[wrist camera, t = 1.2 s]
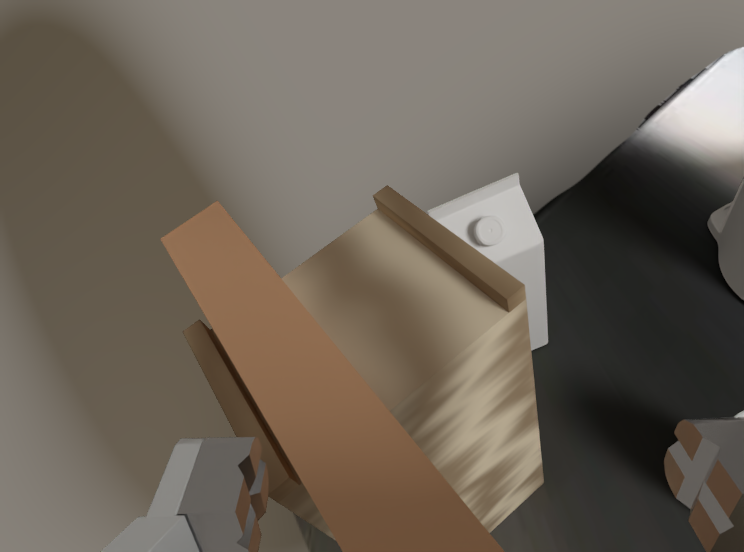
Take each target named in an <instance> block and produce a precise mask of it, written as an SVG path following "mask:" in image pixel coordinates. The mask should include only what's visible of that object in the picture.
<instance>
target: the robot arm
mask: <svg viewBox="0 0 744 552" xmlns="http://www.w3.org/2000/svg"><path fill="white" fill-rule="evenodd" d="M707 224H708V228H709V230H710V232H711V233H712V235H713V236H714V238H715V239H716V241H717V243H718V249H719V252H718V259H719V266H720V269H721V272H722V274H723V277H724V278H725V280H726V282H727V283H728V285H729V286H730V287H731V288H732V290H733V291H734V292H735V293H736V294H737V295H738V296H739V297H740V298H741V299H742V300H744V178H743V180H742V182H741V184H740V186H739V189H738V191H737V193H736V195H735V197H734V200H733V201H732V202H730V203H729V204H727V205H725V206H723V207H722V208H720V209H718V210H716V211H715V212H713V213H712V214H711V216H710V218H709V220H708V222H707ZM674 434H675V435H676V437H677V438H678V440H679V441H677V442H676V443H675V444H673V445H672V446H670V447H669V448H668V450H667V453H666V456H665V459H664V466H665V475H666V478H667V481H668V484H669V486H670V488H671V490H672V492H673V494H674V496H675V497H676V499H678V500H679V501H680V502H682V503H683V504H685V505H686V506H687V507H689V508H690V514H689V520H688V521H689V522H690V524H691V526H692V527H693V529H694V531H695V533H696V534H697V536H698V538H699V540H700V541H701V543H702V545H703V547H704V548H705V550H706V552H744V417H737V418H735V417H723V418H704V419H685V420H682V421H681V422H680V423H678V425H677V427H676V429H675V432H674ZM261 451H262V447H261V443H260V440H259V437H221V438H183V439H182V438H181V439H180V440H179V441H178V443H177V444H176V445H175V446H174V448H173V451H172V454H171V456H170V459H169V461H168V463H167V466H166V468H165V471H164V473H163V476H162V478H161V481H160V483H159V486H158V488H157V491H156V493H155V496H154V498H153V501H152V503H151V505H150V508H149V511H148V513H147V515H146V516H144V517H138V518H136V519H135V520H134V521H133V522H132V523H131V524H130V525H129V526H128V527H127V528H126V529H125V530H123V531H122V532H121V533H120V534H119V535H118V536H117V537H116V538H115V539H114V540H113V541H112V542H110V543H109V544H108V545H107V546H106V547H105V548H104V549H103V550H102V551H101V552H258V550H259V544H260V539H261V532H260V528H259V524H258V520H259V519H260V518H261V517H262V516H263V515H264V513H265V512H266V507H267V501H268V489H269V479H268V470H267V466H266V463H265V462H263V461H262V460H261V459H260V456H261Z"/></svg>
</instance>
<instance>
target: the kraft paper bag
mask: <svg viewBox="0 0 744 552" xmlns="http://www.w3.org/2000/svg"><path fill="white" fill-rule="evenodd" d="M373 197H374V200H375V203H376V205H377V208H378V209H377V210H375V211H374V212H373V213H371V214H370V215H368V216H367V217H366V218H364V219H363V220H362V221H360V222H359V223H358V224H356V225H355V226H353V227H352V228H351V229H349V230H348V231H346V232H345V233H344V234H342V235H341V236H340V237H338V238H337V239H335V240H334V241H332V242H331V243H330V244H328V245H327V246H326V247H324V248H323V249H321V250H320V251H319V252H317V253H316V254H315V255H313V256H312V257H310V258H309V259H308V260H306V261H305V262H303V263H302V264H301V265H299V266H298V267H297V268H295V269H294V270H292V271H291V272H290V273H288V274H287V275H285V276H284V277H283V278H281V279H282V280H283V281H284V283H285V284H286V285H287V286H288V287H289V289H290V290H291V291H292V292H293V294H294V295H295V296H296V297H297V298H298V300H299V301H300V302H301V303H302V305H303V306H304V307H305V308H306V310H307V311H308V312H309V313H310V314H311V316H312V317H313V318H314V319H315V321H316V322H317V323H318V324H319V325H320V327H321V328H322V329H323V330H324V332H325V333H326V334H327V335H328V336H329V338H330V339H331V340H332V341H333V343H334V344H335V345H336V346H337V347H338V349H339V350H340V351H341V352H342V354H343V355H344V356H345V357H346V358H347V360H348V361H349V362H350V363H351V365H352V366H353V367H354V368H355V369H356V371H357V372H358V373H359V374H360V376H361V377H362V378H363V379H364V380H365V382H366V383H367V384H368V385H369V387H370V388H371V389H372V390H373V391H374V393H375V394H376V395H377V396H378V398H379V399H380V400H381V401H382V402H383V404H384V405H385V406H386V407H387V409H388V410H389V411H390V412H391V413H392V415H393V416H394V417H395V418H396V420H397V421H398V422H399V423H400V425H401V426H402V427H403V428H404V429H405V431H406V432H407V433H408V434H409V436H410V437H411V438H412V439H413V440H414V442H415V443H416V444H417V445H418V447H419V448H420V449H421V450H422V451H423V453H424V454H425V455H426V456H427V458H428V459H429V460H430V461H431V462H432V464H433V465H434V466H435V467H436V469H437V470H438V471H439V472H440V473H441V475H442V476H443V477H444V478H445V480H446V481H447V482H448V483H449V484H450V486H451V487H452V488H453V489H454V491H455V492H456V493H457V494H458V495H459V497H460V498H461V499H462V500H463V502H464V503H465V504H466V505H467V506H468V508H469V509H470V510H471V511H472V513H473V514H474V515H475V516H476V517H477V519H478V520H479V521H480V522H481V524H482V525H483V526H484V527H485V528H486V530H487V531H488V532H489V533H490V532H491V531H492V530H493V529H494V528H495V527H497V526H498V525H499V524H500V523H501V522H502V521H503V520H504V519H505V518H506V517H507V516H508V515H509V514H511V513H512V512H513V511H514V510H515V509H516V508H517V507H518V506H519V505H520V504H521V503H522V502H524V501H525V500H526V499H527V498H528V497H529V496H530V495H531V494H532V493H533V492H534V491H535V490H537V489H538V488H539V487H540V486H541V485H542V484H543V483H544V479H543V469H542V458H541V448H540V437H539V427H538V417H537V406H536V396H535V385H534V375H533V365H532V354H531V344H530V333H529V323H528V312H527V302H526V292H525V285H524V284H523V283H522V282H520V281H519V280H517V279H516V278H515V277H513V276H512V275H510V274H509V273H508V272H506V271H505V270H504V269H502V268H501V267H499V266H498V265H497V264H495V263H494V262H493V261H491V260H490V259H488V258H487V257H486V256H484V255H483V254H481V253H480V252H479V251H477V250H476V249H475V248H473V247H472V246H470V245H469V244H468V243H466V242H465V241H464V240H462V239H461V238H459V237H458V236H457V235H455V234H454V233H453V232H451V231H450V230H448V229H447V228H446V227H444V226H443V225H441V224H440V223H439V222H437V221H436V220H435V219H433V218H432V217H430V216H429V215H428V214H426V213H425V212H423V211H422V210H421V209H419V208H418V207H417V206H415V205H414V204H412V203H411V202H410V201H408V200H407V199H405V198H404V197H403V196H401V195H400V194H399V193H397V192H396V191H394V190H393V189H392V188H390V187H389V186H385V187H384V188H383V189H381V190H380V191H378V192H377V193H376V194H374V195H373ZM183 334H184V336H185V337H186V339H187V341H188V343H189V345H190V347H191V349H192V351H193V353H194V355H195V357H196V359H197V361H198V363H199V365H200V367H201V368H202V370H203V372H204V374H205V376H206V378H207V380H208V382H209V384H210V386H211V388H212V390H213V392H214V394H215V396H216V398H217V400H218V401H219V403H220V405H221V407H222V409H223V411H224V413H225V415H226V417H227V419H228V421H229V423H230V425H231V427H232V429H233V431H234V433H235V435H236V436H237V437H259V440H260V443H261V447H262V451H261V456H260V459H261V460H262V461H263V462H265V463H266V466H267V470H268V479H269V489H268V496H269V497H270V498H272V499H273V500H275V501H276V502H278V503H279V504H281V505H282V506H284V507H285V508H287V509H288V510H290V511H292V512H293V513H295V514H296V515H298V516H299V517H301V518H302V519H304V520H305V521H307V522H308V523H310V524H311V525H313V526H314V527H316V528H318V529H319V530H321V531H322V532H324V533H325V534H327V535H328V536H330V537H331V538H333V539H334V540H336V539H335V537H334V536H333V534H332V532H331V531H330V529H329V527H328V525H327V524H326V522H325V520H324V519H323V517H322V515H321V513H320V512H319V510H318V508H317V507H316V505H315V503H314V501H313V500H312V498H311V496H310V495H309V493H308V491H307V489H306V488H305V486H304V484H303V483H302V481H301V479H300V477H299V476H298V474H297V472H296V471H295V469H294V467H293V465H292V464H291V462H290V460H289V459H288V457H287V455H286V453H285V452H284V450H283V448H282V447H281V445H280V443H279V441H278V440H277V438H276V436H275V435H274V433H273V431H272V429H271V428H270V426H269V424H268V423H267V421H266V419H265V417H264V416H263V414H262V412H261V411H260V409H259V407H258V405H257V404H256V402H255V400H254V399H253V397H252V395H251V393H250V392H249V390H248V388H247V387H246V385H245V383H244V381H243V380H242V378H241V376H240V375H239V373H238V371H237V369H236V368H235V366H234V364H233V363H232V361H231V359H230V357H229V356H228V354H227V352H226V351H225V349H224V347H223V345H222V344H221V342H220V340H219V339H218V337H217V335H216V333H215V332H214V330H213V328H212V329H211V330H210V329H209V328H208V327H207V326H206V325H205V324H204V323H203V322H202V321H201V320H198V321H197V322H195V323H194V324H193V325H191V326H190V327H189V328H187V329H186V330H185V331H183Z"/></svg>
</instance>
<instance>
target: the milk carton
mask: <svg viewBox="0 0 744 552" xmlns="http://www.w3.org/2000/svg"><path fill="white" fill-rule="evenodd" d="M428 215H429V216H430V217H432V218H433V219H435V220H436V221H437V222H439V223H440V224H441V225H443V226H444V227H446V228H447V229H448V230H450V231H451V232H453V233H454V234H455V235H457V236H458V237H459V238H461V239H462V240H464V241H465V242H466V243H468V244H469V245H470V246H472V247H473V248H475V249H476V250H477V251H479V252H480V253H481V254H483V255H484V256H486V257H487V258H488V259H490V260H491V261H493V262H494V263H495V264H497V265H498V266H499V267H501V268H502V269H504V270H505V271H506V272H508V273H509V274H510V275H512V276H513V277H515V278H516V279H517V280H519V281H520V282H522V283H523V284H524V285H525V292H526V302H527V312H528V323H529V333H530V344H531V351H532V350H534V349H536V348H539V347H541V346H543V345H546V344H547V343H548V329H547V307H546V284H545V261H544V243H543V237H542V235H541V233H540V230H539V228H538V226H537V223H536V221H535V219H534V216H533V214H532V212H531V210H530V207H529V205H528V203H527V201H526V198H525V196H524V194H523V191H522V189H521V187H520V184H519V174H518V173H515V174H512V175H510V176H508V177H506V178H503V179H501V180H499V181H496V182H494V183H491V184H489V185H487V186H485V187H482V188H480V189H477V190H475V191H473V192H470V193H468V194H466V195H463V196H461V197H459V198H456V199H454V200H452V201H450V202H447V203H445V204H442V205H440V206H438V207H435V208H433V209H431V210H428Z"/></svg>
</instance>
